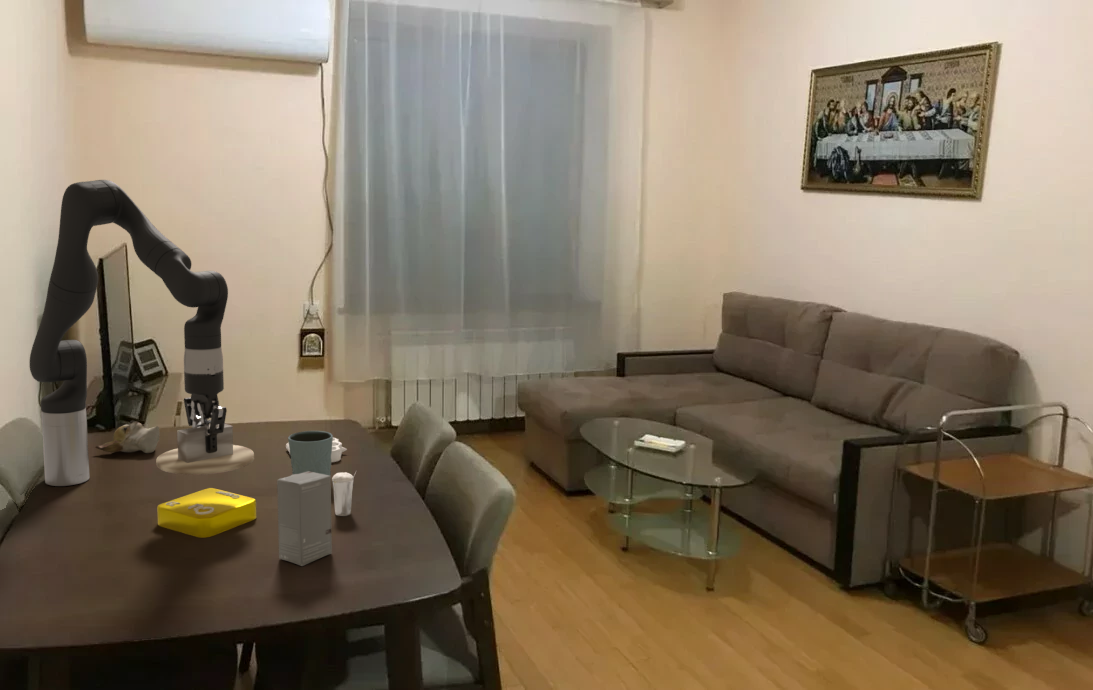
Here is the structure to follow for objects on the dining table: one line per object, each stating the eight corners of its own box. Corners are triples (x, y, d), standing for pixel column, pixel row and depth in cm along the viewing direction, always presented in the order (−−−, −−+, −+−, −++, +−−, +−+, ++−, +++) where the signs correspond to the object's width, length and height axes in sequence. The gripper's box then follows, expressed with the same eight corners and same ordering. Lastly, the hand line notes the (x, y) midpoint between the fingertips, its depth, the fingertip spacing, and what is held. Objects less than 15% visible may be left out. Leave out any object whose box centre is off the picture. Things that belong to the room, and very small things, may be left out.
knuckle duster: (283, 448, 245) (337, 444, 252) (295, 467, 229) (353, 461, 236) (283, 436, 245) (337, 432, 251) (295, 454, 229) (352, 449, 235)
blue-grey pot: (341, 485, 215) (341, 436, 213) (304, 494, 208) (303, 444, 206) (317, 475, 222) (317, 428, 220) (280, 483, 215) (279, 435, 213)
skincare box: (301, 567, 167) (300, 485, 165) (275, 558, 171) (273, 478, 168) (334, 553, 174) (334, 474, 172) (308, 545, 178) (307, 467, 176)
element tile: (260, 518, 192) (260, 496, 192) (204, 540, 179) (203, 517, 179) (211, 505, 199) (210, 484, 199) (153, 525, 186) (152, 503, 186)
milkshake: (351, 518, 193) (351, 473, 192) (328, 516, 194) (328, 471, 193) (360, 511, 198) (360, 467, 196) (337, 509, 199) (337, 465, 197)
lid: (140, 459, 187) (138, 427, 186) (225, 443, 201) (224, 412, 200) (183, 480, 174) (182, 445, 173) (271, 462, 188) (270, 429, 187)
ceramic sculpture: (147, 425, 230) (91, 425, 231) (150, 458, 231) (94, 458, 232) (167, 415, 240) (113, 416, 241) (170, 447, 242) (116, 447, 243)
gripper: (169, 366, 186) (172, 446, 189) (203, 376, 177) (205, 460, 180) (204, 361, 192) (206, 440, 195) (238, 372, 182) (240, 453, 185)
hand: (206, 449), depth 187 cm, fingers closed on lid, 4 cm apart
